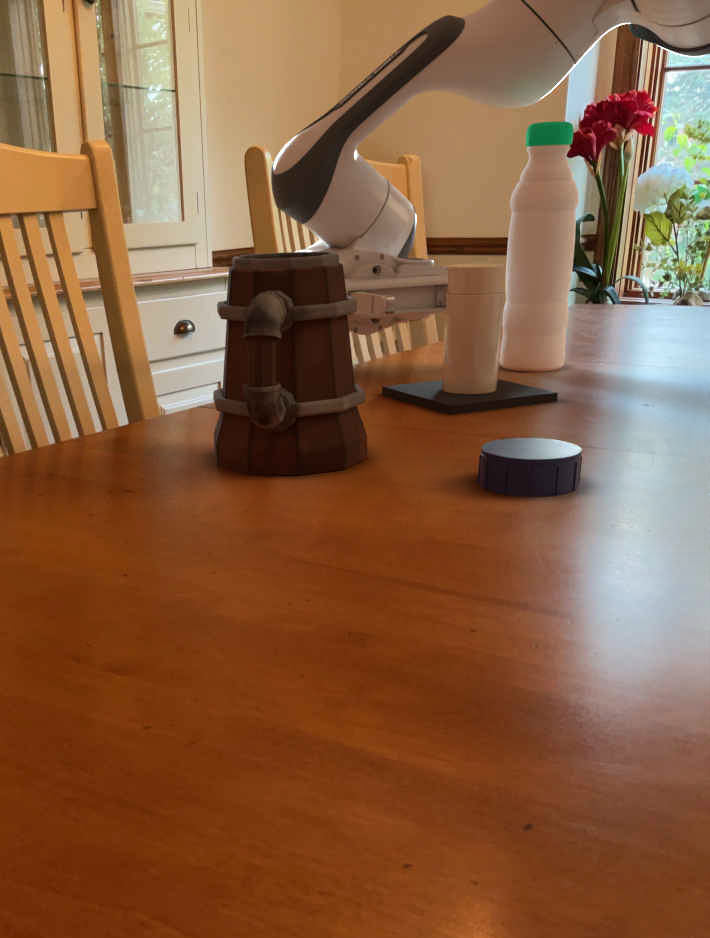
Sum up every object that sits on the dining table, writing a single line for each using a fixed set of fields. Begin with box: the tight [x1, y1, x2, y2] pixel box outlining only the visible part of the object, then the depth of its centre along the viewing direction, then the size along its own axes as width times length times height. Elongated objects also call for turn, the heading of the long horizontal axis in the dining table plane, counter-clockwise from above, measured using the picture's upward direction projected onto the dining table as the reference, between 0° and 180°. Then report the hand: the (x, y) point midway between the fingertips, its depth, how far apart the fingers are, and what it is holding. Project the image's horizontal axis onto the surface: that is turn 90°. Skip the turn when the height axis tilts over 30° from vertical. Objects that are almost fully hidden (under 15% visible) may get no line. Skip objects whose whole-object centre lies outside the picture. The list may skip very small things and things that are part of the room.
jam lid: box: [477, 437, 583, 498], centre depth 71 cm, size 7×7×3 cm
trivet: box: [381, 378, 559, 416], centre depth 101 cm, size 12×12×1 cm
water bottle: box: [499, 121, 580, 372], centre depth 113 cm, size 7×7×25 cm
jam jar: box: [441, 262, 504, 394], centre depth 99 cm, size 5×5×11 cm
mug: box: [212, 251, 368, 477], centre depth 76 cm, size 16×12×15 cm
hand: (429, 302), depth 104 cm, fingers open, 8 cm apart
